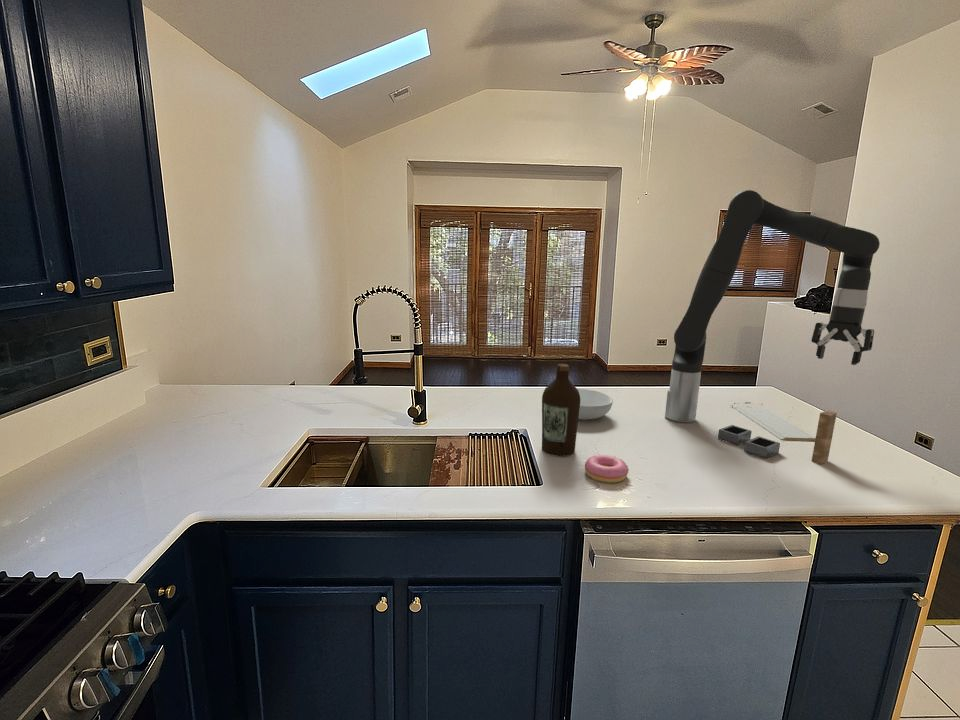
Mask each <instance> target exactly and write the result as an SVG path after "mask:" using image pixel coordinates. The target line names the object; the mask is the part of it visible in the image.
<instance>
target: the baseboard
mask: <svg viewBox="0 0 960 720" xmlns="http://www.w3.org/2000/svg"><path fill="white" fill-rule="evenodd" d="M736 404H739V405H736ZM744 404H752V402H751V401H750V402H749V401H746V402H745V401H744ZM734 405H736V406H734ZM731 407H733V409H734V408H735V409H734V410H736V411H737V410H738V412H739V413H740V414H742V415H743V416H745V417H746V418H748V419H749V420H751V421H752V422H753V423H755V424H756V425H758V426H760V427H761V428H762V429H764V430H765V431H767V432H768V433H770V434H771V435H773V436H774V437H776V438H777V439H779V440H781V441H806V442H807V441H810V442H811V441H813V442H815V439H816V436H813V435H811V434H809V433H808V432H807V431H805V430H803V429H802V428H800V427H798V426H796V425H795V424H793V423H792V422H790V421H788V420H787V419H785V418H783V417H781V416H780V415H778V414H776V413H775V412H773V411H771V410H770V409H768V408H767V407H764V406H763V403H761V405H740V403H736V402H734V403H733V404H731Z"/></svg>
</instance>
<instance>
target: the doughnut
mask: <svg viewBox="0 0 960 720" xmlns="http://www.w3.org/2000/svg"><path fill="white" fill-rule="evenodd" d="M584 470H585V473H586V474H587V475H588V477H590V478H591V479H592V480H595V481H598V482H601V483H608V484H614V483H620V482H622V481H624V480H626V478H627V477H628V474H629V471H630V469H629V465H627V463H626V461H624V460H623V459H621V458H619V457H616V456H615V455H614V456H613V455H608V454H597V455H593V456H590V457H589V458H588V459H587V460H586V461H585V463H584Z"/></svg>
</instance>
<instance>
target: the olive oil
mask: <svg viewBox="0 0 960 720" xmlns="http://www.w3.org/2000/svg"><path fill="white" fill-rule="evenodd" d="M556 365H557V366H556V368H557V369H556V377H555V378H554V379H553V380H552V381H551V382H550V383H549V384H548V385H547V386H546V387H545V388H544V390H543V393H542V395H541V450H542V451H543V452H544V453H545V454H548V455H550V456H554V457H568V456H571V455H573V454H574V453H575V452H576V444H577V433H578V423H579V419H578V417H579V409H580V394H579V391H578V390H577V389H578V388H577V387H576V386H575V385H574V384H573V382H572V381H571V380H570V378H569V373H570V370H569V368H570V366H569V365H568V364H566V363H558V364H556Z"/></svg>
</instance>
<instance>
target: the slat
mask: <svg viewBox="0 0 960 720" xmlns="http://www.w3.org/2000/svg"><path fill="white" fill-rule="evenodd" d="M837 414H838V412H834V411H829V410H824V411H821V412H820V413H819V418H818V423H817V429H816V434H815V438H816V439H815V441H814V446H813V450H812V457H811V462H813V463H817V464H820V465H822V464H825V463H826V462H828V461H829V456H830V451H831V445H832V441H833V434H834V430H835V424H836V419H837Z"/></svg>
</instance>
